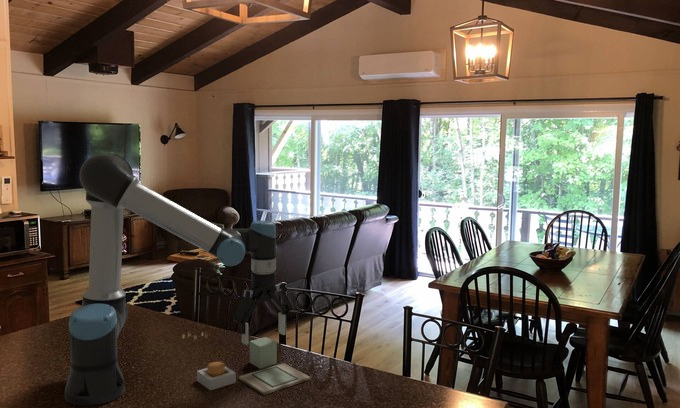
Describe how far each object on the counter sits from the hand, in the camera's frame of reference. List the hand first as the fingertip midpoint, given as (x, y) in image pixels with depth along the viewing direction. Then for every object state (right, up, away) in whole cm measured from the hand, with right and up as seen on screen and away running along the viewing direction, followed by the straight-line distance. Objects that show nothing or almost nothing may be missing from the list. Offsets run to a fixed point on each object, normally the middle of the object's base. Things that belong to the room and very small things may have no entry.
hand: (263, 338), depth 178 cm
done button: (-12, -7, -13) cm, 19 cm away
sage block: (0, -8, +1) cm, 8 cm away
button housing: (-12, -9, -13) cm, 20 cm away
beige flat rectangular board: (+5, -9, -11) cm, 15 cm away
